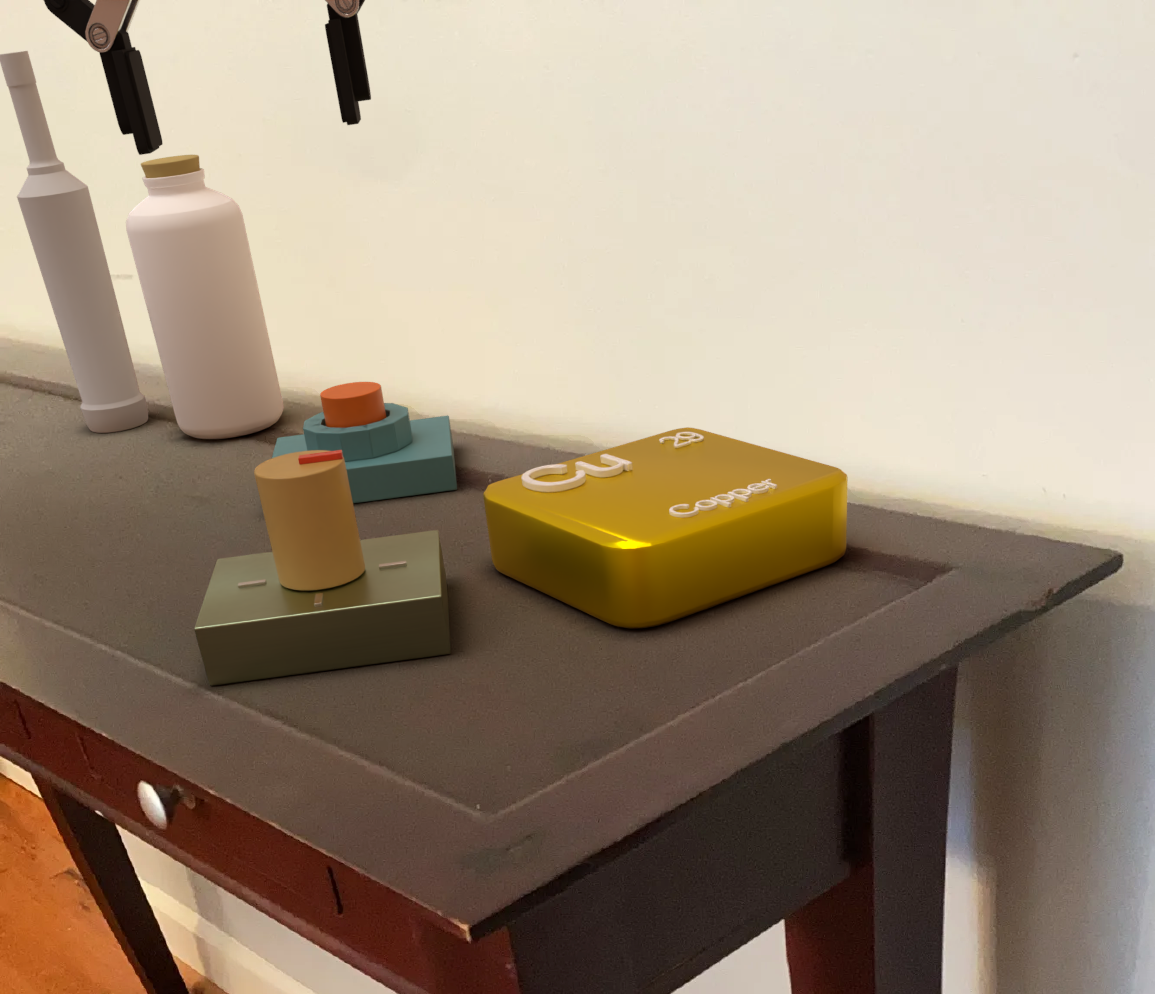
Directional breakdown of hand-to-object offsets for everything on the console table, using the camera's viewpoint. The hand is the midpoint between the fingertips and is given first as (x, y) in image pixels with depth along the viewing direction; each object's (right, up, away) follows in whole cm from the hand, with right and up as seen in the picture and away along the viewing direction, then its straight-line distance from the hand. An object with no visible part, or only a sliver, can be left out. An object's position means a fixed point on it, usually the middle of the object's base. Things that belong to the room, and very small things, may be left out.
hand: (251, 136), depth 66 cm
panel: (+3, -21, +7) cm, 23 cm away
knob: (+2, -19, +5) cm, 20 cm away
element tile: (+20, -17, +10) cm, 28 cm away
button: (+1, -2, +26) cm, 26 cm away
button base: (+1, -5, +28) cm, 29 cm away
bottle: (-22, +7, +48) cm, 53 cm away
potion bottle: (-11, +5, +43) cm, 45 cm away
